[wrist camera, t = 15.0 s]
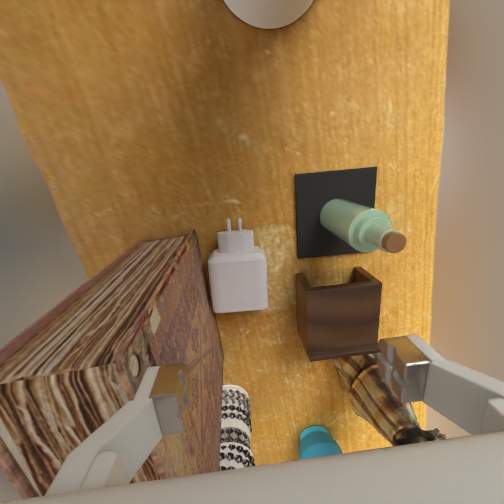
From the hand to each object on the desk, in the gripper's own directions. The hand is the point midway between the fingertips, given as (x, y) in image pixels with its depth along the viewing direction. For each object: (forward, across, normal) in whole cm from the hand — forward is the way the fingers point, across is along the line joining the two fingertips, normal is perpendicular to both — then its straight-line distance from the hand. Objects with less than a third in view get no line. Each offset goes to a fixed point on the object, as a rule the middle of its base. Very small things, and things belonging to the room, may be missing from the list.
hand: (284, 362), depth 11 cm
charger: (+33, +2, +7) cm, 34 cm away
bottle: (+32, -15, +1) cm, 36 cm away
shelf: (+33, -14, +17) cm, 40 cm away
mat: (+33, -15, +1) cm, 36 cm away
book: (+33, +12, +14) cm, 38 cm away
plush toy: (+33, -21, +32) cm, 51 cm away
